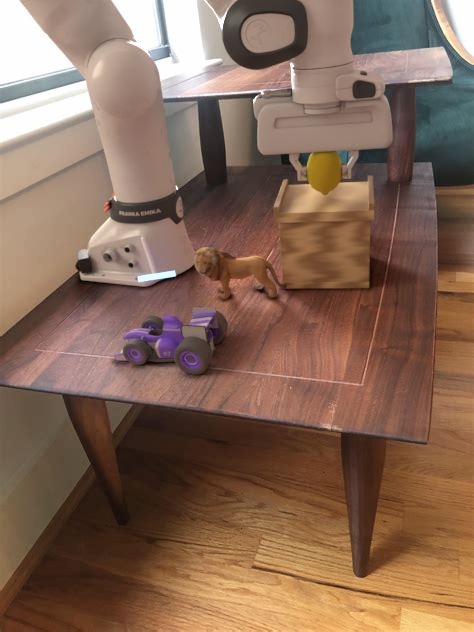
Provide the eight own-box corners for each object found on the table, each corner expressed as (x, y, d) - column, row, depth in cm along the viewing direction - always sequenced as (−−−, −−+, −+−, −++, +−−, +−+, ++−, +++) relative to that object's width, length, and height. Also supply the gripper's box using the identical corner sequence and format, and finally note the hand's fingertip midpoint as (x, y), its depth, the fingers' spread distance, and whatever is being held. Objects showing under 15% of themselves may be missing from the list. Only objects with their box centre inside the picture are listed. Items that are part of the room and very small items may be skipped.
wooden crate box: (280, 290, 91) (273, 207, 84) (288, 255, 102) (283, 179, 94) (372, 290, 88) (374, 203, 80) (371, 254, 99) (372, 175, 91)
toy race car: (139, 330, 85) (130, 294, 82) (230, 337, 81) (224, 299, 78) (110, 367, 78) (99, 329, 74) (209, 377, 73) (202, 336, 70)
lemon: (312, 188, 91) (310, 140, 87) (345, 189, 89) (345, 139, 85) (303, 200, 87) (301, 150, 82) (338, 201, 85) (337, 150, 80)
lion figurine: (199, 305, 90) (190, 256, 85) (201, 289, 94) (193, 242, 90) (288, 297, 89) (284, 247, 84) (286, 281, 93) (282, 233, 89)
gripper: (248, 95, 79) (257, 188, 86) (395, 83, 74) (391, 182, 81) (255, 87, 84) (263, 175, 91) (393, 75, 79) (389, 169, 87)
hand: (324, 178), depth 86 cm, fingers closed on lemon, 5 cm apart
